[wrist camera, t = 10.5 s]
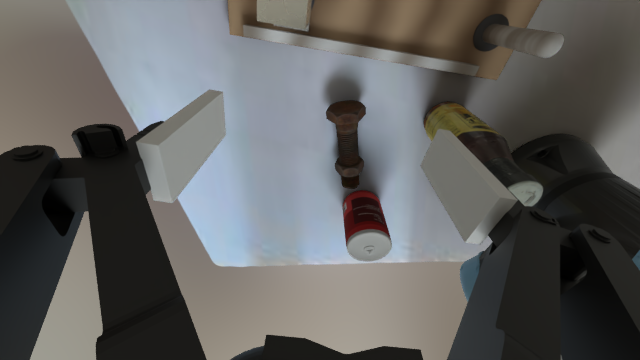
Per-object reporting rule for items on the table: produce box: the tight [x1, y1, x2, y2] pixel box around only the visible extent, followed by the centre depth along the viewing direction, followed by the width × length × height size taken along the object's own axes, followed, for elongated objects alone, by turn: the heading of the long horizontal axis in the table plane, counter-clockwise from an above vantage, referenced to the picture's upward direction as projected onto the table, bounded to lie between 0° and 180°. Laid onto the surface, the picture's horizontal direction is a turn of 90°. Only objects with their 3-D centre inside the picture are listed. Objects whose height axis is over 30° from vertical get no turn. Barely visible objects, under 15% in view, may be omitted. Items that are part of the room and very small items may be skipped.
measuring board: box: [228, 0, 564, 80], centre depth 26 cm, size 36×10×12 cm, turn 81°
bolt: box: [326, 100, 366, 189], centre depth 40 cm, size 6×5×15 cm
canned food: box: [343, 190, 392, 261], centre depth 46 cm, size 8×8×11 cm
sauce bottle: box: [424, 102, 543, 206], centre depth 31 cm, size 7×6×20 cm
